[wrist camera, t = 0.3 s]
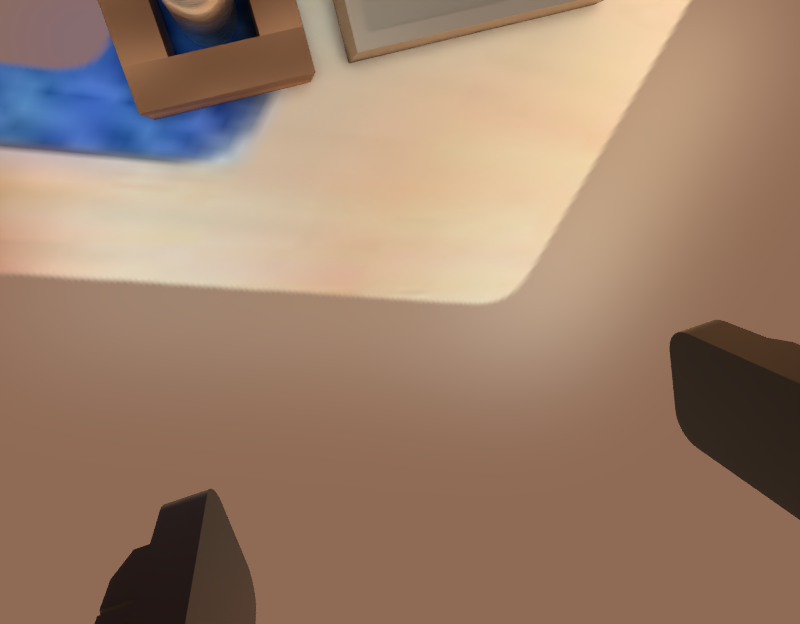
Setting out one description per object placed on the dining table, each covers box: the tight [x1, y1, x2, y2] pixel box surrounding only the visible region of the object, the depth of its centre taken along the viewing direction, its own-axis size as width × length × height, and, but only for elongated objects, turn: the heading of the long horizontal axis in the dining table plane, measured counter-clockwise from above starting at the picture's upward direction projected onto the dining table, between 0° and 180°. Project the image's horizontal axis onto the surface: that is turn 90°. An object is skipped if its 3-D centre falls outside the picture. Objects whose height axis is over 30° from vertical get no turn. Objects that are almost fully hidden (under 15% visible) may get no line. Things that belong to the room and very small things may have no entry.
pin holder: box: [98, 0, 315, 119], centre depth 30 cm, size 9×9×4 cm
